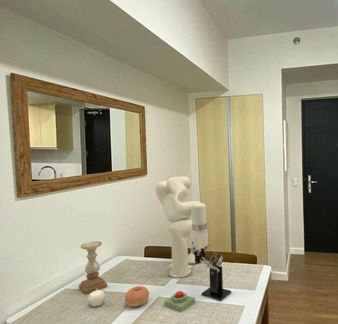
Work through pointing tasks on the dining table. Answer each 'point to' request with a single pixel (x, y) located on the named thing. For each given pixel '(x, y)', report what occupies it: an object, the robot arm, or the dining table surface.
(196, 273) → the dining table surface
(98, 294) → the plain white apple
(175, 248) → the robot arm
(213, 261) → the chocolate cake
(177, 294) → the button
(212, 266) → the lever
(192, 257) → the flower in vase
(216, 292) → the bracket
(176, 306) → the control block
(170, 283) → the dining table surface
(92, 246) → the candle holder
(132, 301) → the orange pumpkin
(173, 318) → the dining table surface
